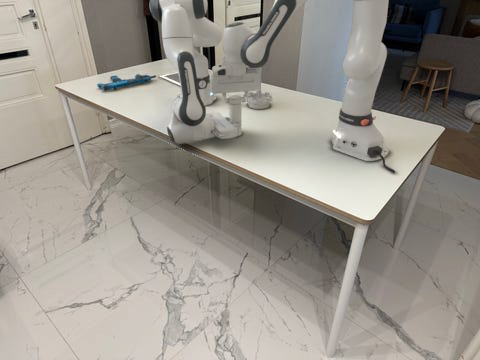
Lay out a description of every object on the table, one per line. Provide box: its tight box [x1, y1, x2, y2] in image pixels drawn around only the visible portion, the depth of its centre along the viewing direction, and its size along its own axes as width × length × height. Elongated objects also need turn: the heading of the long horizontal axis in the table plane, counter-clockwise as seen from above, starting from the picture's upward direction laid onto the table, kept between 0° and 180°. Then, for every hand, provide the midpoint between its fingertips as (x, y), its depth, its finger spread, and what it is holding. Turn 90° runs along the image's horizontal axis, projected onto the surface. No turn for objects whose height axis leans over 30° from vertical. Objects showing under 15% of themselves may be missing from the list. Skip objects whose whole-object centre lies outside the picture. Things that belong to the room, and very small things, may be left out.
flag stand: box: [246, 66, 273, 110], centre depth 168 cm, size 13×13×30 cm
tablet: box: [158, 71, 181, 87], centre depth 214 cm, size 32×20×1 cm, turn 41°
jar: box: [228, 102, 242, 137], centre depth 143 cm, size 5×5×16 cm
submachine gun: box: [96, 73, 157, 91], centre depth 207 cm, size 34×4×25 cm
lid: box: [227, 94, 243, 104], centre depth 139 cm, size 6×6×2 cm
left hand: (237, 121), depth 145 cm, fingers closed on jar, 5 cm apart
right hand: (235, 102), depth 140 cm, fingers closed on lid, 6 cm apart
